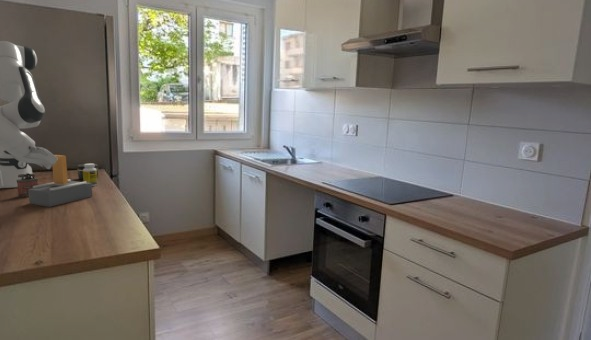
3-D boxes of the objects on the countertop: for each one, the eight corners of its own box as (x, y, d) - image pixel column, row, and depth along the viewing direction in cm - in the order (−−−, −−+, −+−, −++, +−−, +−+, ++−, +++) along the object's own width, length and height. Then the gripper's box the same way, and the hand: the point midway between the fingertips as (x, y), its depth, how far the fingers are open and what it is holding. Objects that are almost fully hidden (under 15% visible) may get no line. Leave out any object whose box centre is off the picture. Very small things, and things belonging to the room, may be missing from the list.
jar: (102, 178, 214) (101, 164, 213) (85, 181, 205) (84, 167, 204) (91, 176, 218) (90, 163, 217) (74, 179, 210) (73, 165, 208)
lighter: (38, 193, 176) (36, 171, 175) (40, 194, 174) (38, 173, 172) (17, 196, 171) (15, 173, 169) (18, 197, 169) (16, 175, 167)
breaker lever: (53, 183, 165) (51, 155, 163) (58, 182, 167) (55, 154, 165) (63, 184, 163) (61, 156, 161) (68, 183, 165) (65, 155, 163)
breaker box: (29, 203, 159) (27, 186, 158) (73, 193, 177) (72, 178, 176) (49, 206, 155) (47, 189, 153) (92, 196, 173) (91, 180, 172)
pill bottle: (91, 187, 191) (90, 165, 189) (80, 186, 193) (79, 164, 191) (100, 184, 197) (98, 163, 195) (89, 183, 199) (88, 162, 197)
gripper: (45, 141, 146) (70, 163, 157) (10, 138, 154) (36, 159, 164) (34, 154, 143) (61, 176, 154) (-1, 150, 151) (27, 171, 161)
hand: (48, 167), depth 159 cm, fingers closed
